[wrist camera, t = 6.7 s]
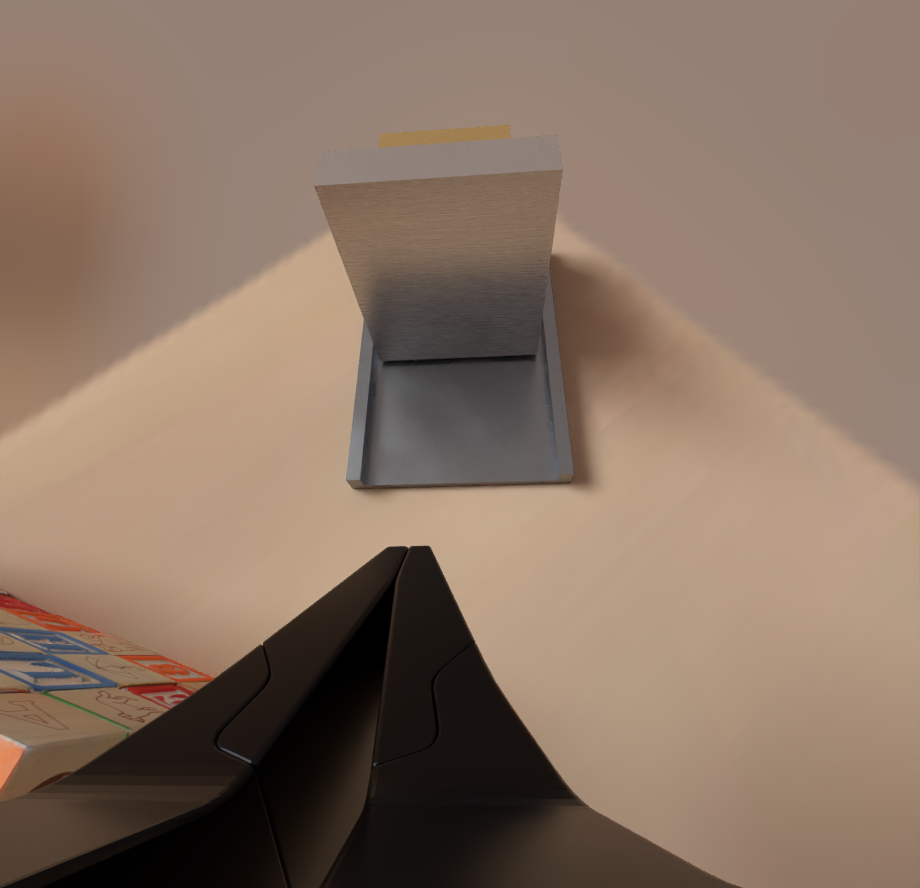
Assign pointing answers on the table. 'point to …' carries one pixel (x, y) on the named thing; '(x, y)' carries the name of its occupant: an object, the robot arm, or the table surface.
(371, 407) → the vise
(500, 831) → the robot arm
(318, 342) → the table surface
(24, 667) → the stack of blocks
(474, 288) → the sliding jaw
